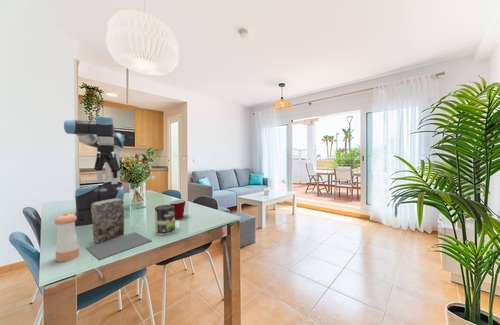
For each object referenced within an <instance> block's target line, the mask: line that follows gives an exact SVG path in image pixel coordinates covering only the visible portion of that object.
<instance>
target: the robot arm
mask: <svg viewBox="0 0 500 325" xmlns="http://www.w3.org/2000/svg"><path fill="white" fill-rule="evenodd" d="M113 120H114V119H113V117H111V116H109V115H108V116H107V115H97V116H95V121H91V120H79V119H77V120H76V119H66V120H65V121H64V122H63V130H64V132H65V133H66V134H67V135H68V134H69V135H76V137H78V138H79V140H80V142H81V143H83V144H84V145H86V146H89V147H92V148H96V151H97V152H98V153H96V157H95V158H96V159H95V163H94V166H93V167H94V168H93V169H94V170H95V171H96V179H97V183H102V185H101V186H99V185H98V184H94V185H93V184H91V185H86V186H83V187H78V188H77V189H76V190H75V195H74V197H75V214H74V215H76V217H77V219H76V221H74V222H75V226H87V225H93V222H92V214H91V204H92V203H94V202H99V201H103V200H108V199H114V198H118V199H121V200H123V201H124V199H125V192H126V186H125V185H124V184H123V182H122V181H121V169H120V168H121V166H120V164H121V163H120V152H121V151H123V150H122V149H124V148H125V146H124V145H125V144H124V139H123V135H122V133H120V132H115V126H114V121H113ZM104 166H105V170H104V169H103V168H104ZM104 175H105V176H104ZM104 177H105V178H104Z"/></svg>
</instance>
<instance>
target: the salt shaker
mask: <svg viewBox="0 0 500 325" xmlns="http://www.w3.org/2000/svg"><path fill="white" fill-rule="evenodd" d="M76 219H77V217H76V215H75V214H73V213H68V212H64V213H63V214H61V215H59V216H57V217H56V218H55V219H54V225H57V227H56V229H57V235H56V236H57V237H56V243H55V245H56V251H55V261H56V262H57V263H63V262H68V261H70V260H74V259H76V258H77V257H79V256H80V249H79V248H80V247H79V245H78V236H77V233H76V232H77V231H76V225H75V222H74V221H76Z"/></svg>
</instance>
